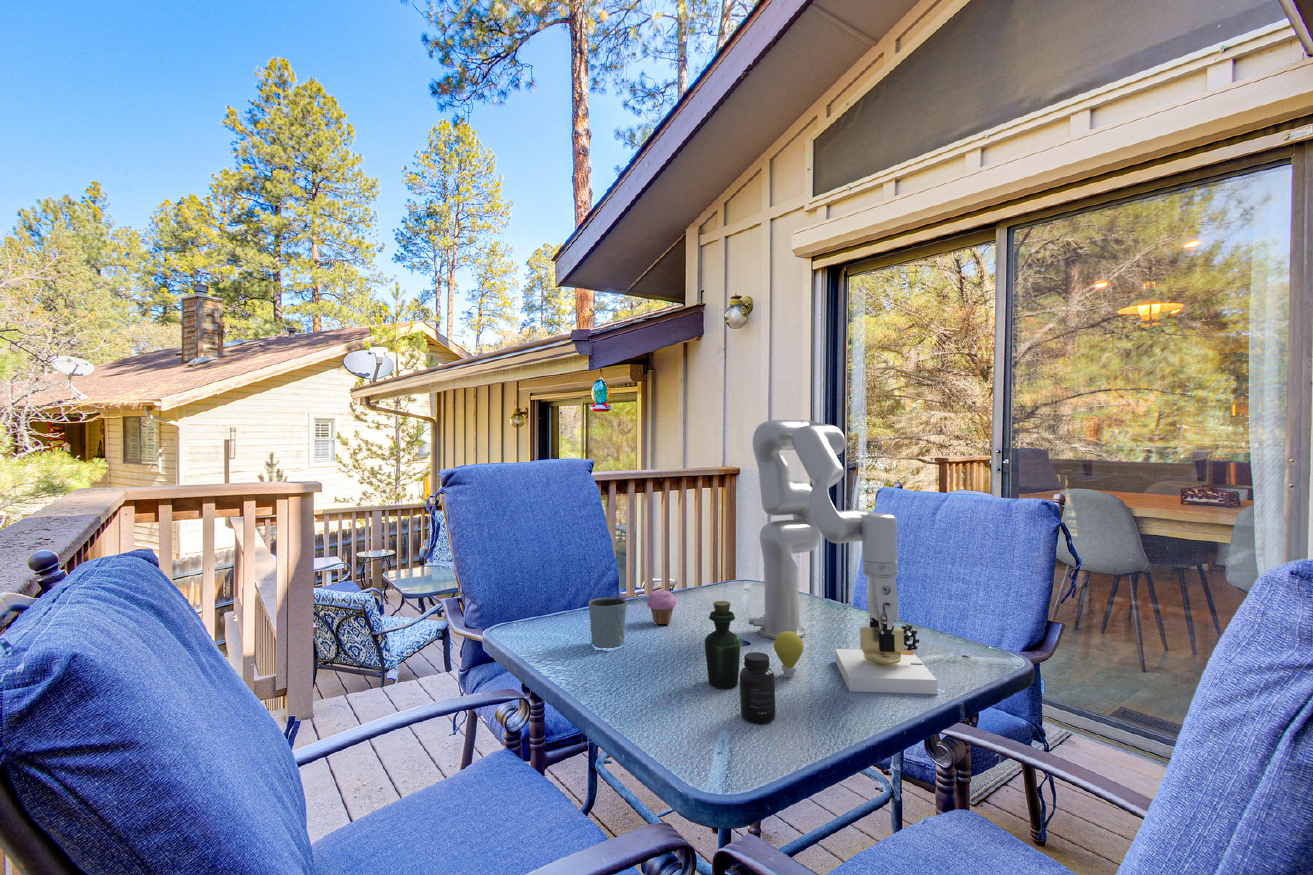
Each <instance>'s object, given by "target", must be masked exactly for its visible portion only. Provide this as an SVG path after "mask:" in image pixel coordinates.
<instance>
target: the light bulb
mask: <svg viewBox="0 0 1313 875" xmlns="http://www.w3.org/2000/svg"><path fill="white" fill-rule="evenodd" d="M773 649H774V652H775V653H776V655H777V657H778V660H780V662H781V663H782V665H781V671H782V672H783V676H784V677H786V678H794V677H795V673H796V672H797V666H796V664H797V663H798V661H799V660H800V658H801V656H802V654H803V651H804V642H803V640H802V637H801V638H800V637H799V636H798V635H797V634H795V633H793V632H790V631H785V632H782V633H780V634H779V635H778V636H777V637H776V639H774V641H773Z"/></svg>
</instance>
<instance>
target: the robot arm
mask: <svg viewBox="0 0 1313 875" xmlns="http://www.w3.org/2000/svg"><path fill="white" fill-rule="evenodd" d="M845 446H846V439H845V435H844V434H843V432H842V430H840V428H839V427H837V426H835V425H833V424H827V423H822V422H818V421H812V420H806V419H800V420H799V419H773V420H767V421H764V422H762V423H760V424H759V425H758V426H757V428H756V429H755V431H754V433H753V438H752V450H753V454H754V457H755V460H756V464H757V469H758V478H759V488H760V497H761V498H760V501H761V505H762V509H763V511H764V513H765V514H767V515H768V516H772V517H773V516H776V517H777V516H789V515H792V519H783V520H774V521H770V522H767V523H766V524H764V526H762V528H761V529H760V532H759V542H760V547H761V552H762V560H763V579H764V580H763V581H764V582H763V583H764V585H763V586H764V613H763V614H762V615H763V616H759V617H748V625H753V627H759V633H760V634H761V635H762V636H764V637H766V638H769V639H772V640H775V639H776V637H777V636H778V635H779V634H780V633H782V632H785V631H790V632H793V633H795V634H797V635H798V636H799V637H800V638H801V639H802V638H803V637H804V636H806V628H804V627H803V626H801V625H800V623H801V622H800V591H799V590H800V588H799V587H800V582H799V580H800V579H799V578H800V577H799V567H798V565H797V564H796V562H795V560H794V559H793V557H792V555H793V554H803V553H807V552H811V551H814V550H815V549H816V548H817V547H818V545H819V543H820V534H822V536H823V537H824V538H825V539H826V540H827V541H828V542H830V543H832V544H845V543H847V544H848V543H857V542H862V573H863V575H864V576H867V578H866V585H867V586H866V588H867V589H866V594H867V595H866V597H867V598H866V600H867V609H868V612H869V627H880V633H879V650H880V651H881V652H894V651H895V640H894V628H895V625H894V622H895V623H897V622H898V621H899V620H900V615H899V614H900V613H899V611H900V610H899V601H898V600H899V599H898V598H899V597H898V588H897V580H896V577H898V576H899V558H898V523H897V522H898V521H897V519H896V516H894V515H892V514H890V513H883V512H881V513H880V512H874V511H871V510H868V509H848V510H846V509H845V510H837V509H836V507H835V505H834V504H833V501H832V499H831V496H830V493H829V492H830V490H829V489H831V487H833V486H834V485H836V484H837V483H839V481H841V480H842V478H843V477H844V475H845V471H844V470H845V469H844V467H843V466H842V464H841V462H840V460H839V459H838V457H837V456H839V455H840V454H842V452H843V451H844V450H845ZM780 451H795V453H796V455H797V457H798V459H799V461H800V462H801V464H802V466H803V468H804V470H805V472H806V474H807V475H808V478H809V479H810V482H811V483H812V487H811V485H809V484H808V483H807V482H804V481H801V480H794V481H791V478H790V471H789V470H790V469H789V465H788V463H787V461H786V459H785V457H784V456H783V454H782V453H780Z"/></svg>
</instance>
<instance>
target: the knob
mask: <svg viewBox="0 0 1313 875" xmlns="http://www.w3.org/2000/svg"><path fill="white" fill-rule="evenodd" d="M903 630H904V629H902V627H894V640H895V651H894V652H881V651H880V650H879V633H880V627H870V626H859V633H860V634H859V636H860V637H859V640H860V650H862V652H864V658H865V659H867V660H869V661H872V662H875V663H878V664H895V663H898V662H900V661H901V654H902V655H913V653H914V650H905V645H904V631H903Z"/></svg>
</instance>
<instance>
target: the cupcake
mask: <svg viewBox="0 0 1313 875" xmlns="http://www.w3.org/2000/svg"><path fill="white" fill-rule="evenodd" d="M676 604H677V601H676V597H675V595H674V594H673V593H672V592H670V591H668V590H662V589H659V590H655V591H652V592H651V593H650V594H649V596H648V597H647V603H646V606H647V607H648V608H649V609H650V611H651V615H652V620H653V624H655V623H656V624H655V625H657V624H669V623H670V624H671V619H672V616H673V611H674V608H675V607H676ZM670 624H669V625H670Z"/></svg>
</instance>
